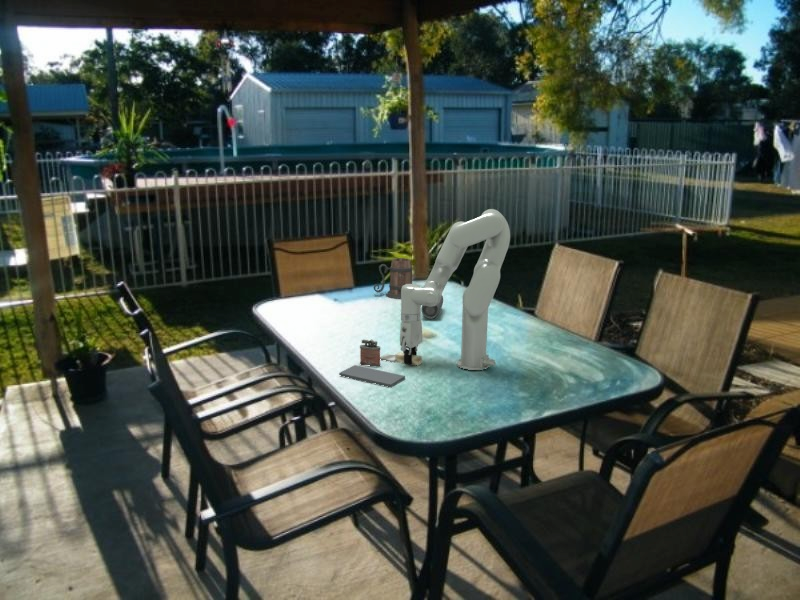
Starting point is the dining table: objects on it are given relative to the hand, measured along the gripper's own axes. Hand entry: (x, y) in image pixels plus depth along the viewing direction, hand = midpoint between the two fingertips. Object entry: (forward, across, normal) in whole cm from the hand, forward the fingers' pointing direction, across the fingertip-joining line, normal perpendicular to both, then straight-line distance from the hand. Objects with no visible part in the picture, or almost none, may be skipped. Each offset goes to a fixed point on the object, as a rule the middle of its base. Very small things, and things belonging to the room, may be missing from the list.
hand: (410, 362), depth 258 cm
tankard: (+1, +91, +62) cm, 110 cm away
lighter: (+1, -10, +12) cm, 16 cm away
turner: (0, 0, +4) cm, 4 cm away
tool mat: (0, -21, +4) cm, 21 cm away
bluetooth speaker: (+1, +67, +26) cm, 72 cm away
